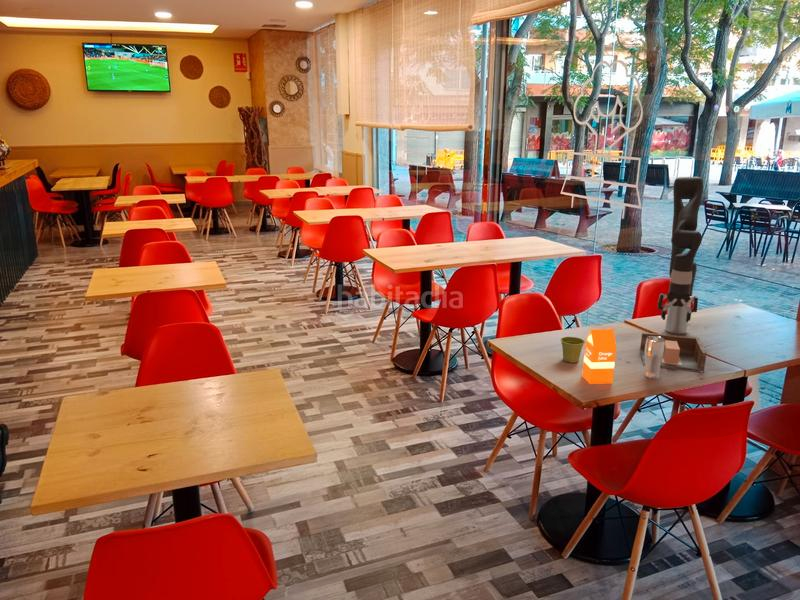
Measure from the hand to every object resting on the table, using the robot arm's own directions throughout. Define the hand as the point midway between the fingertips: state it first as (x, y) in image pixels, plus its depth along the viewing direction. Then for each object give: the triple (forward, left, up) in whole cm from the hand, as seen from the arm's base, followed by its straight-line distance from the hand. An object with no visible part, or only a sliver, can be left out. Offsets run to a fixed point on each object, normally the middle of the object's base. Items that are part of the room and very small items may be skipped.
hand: (675, 320), depth 245 cm
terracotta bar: (0, 0, -16) cm, 16 cm away
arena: (-1, 0, -18) cm, 18 cm away
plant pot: (+11, -39, -18) cm, 44 cm away
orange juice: (+28, -29, -18) cm, 44 cm away
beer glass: (+18, -9, -18) cm, 27 cm away
